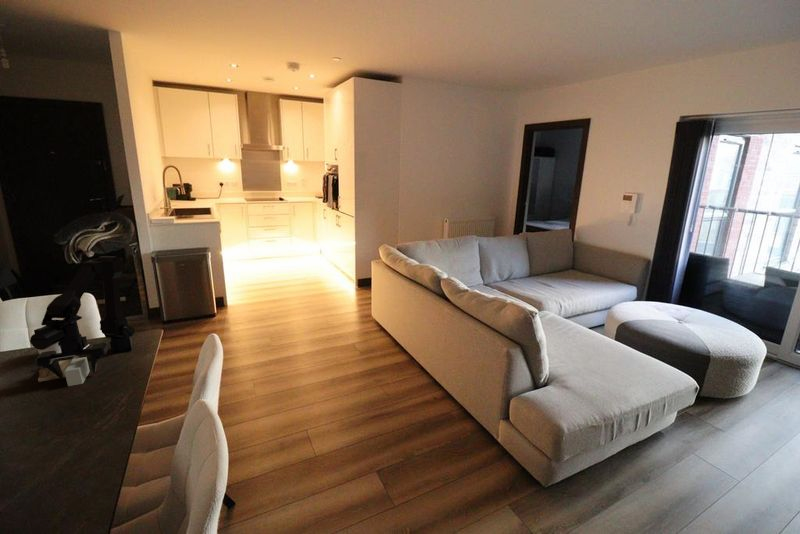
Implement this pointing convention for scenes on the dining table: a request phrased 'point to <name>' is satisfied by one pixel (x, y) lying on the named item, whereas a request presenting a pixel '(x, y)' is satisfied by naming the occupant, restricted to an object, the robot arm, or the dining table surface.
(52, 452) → the dining table surface
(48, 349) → the white cup
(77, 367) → the light grey block
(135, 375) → the dining table surface
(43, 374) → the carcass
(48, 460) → the dining table surface
